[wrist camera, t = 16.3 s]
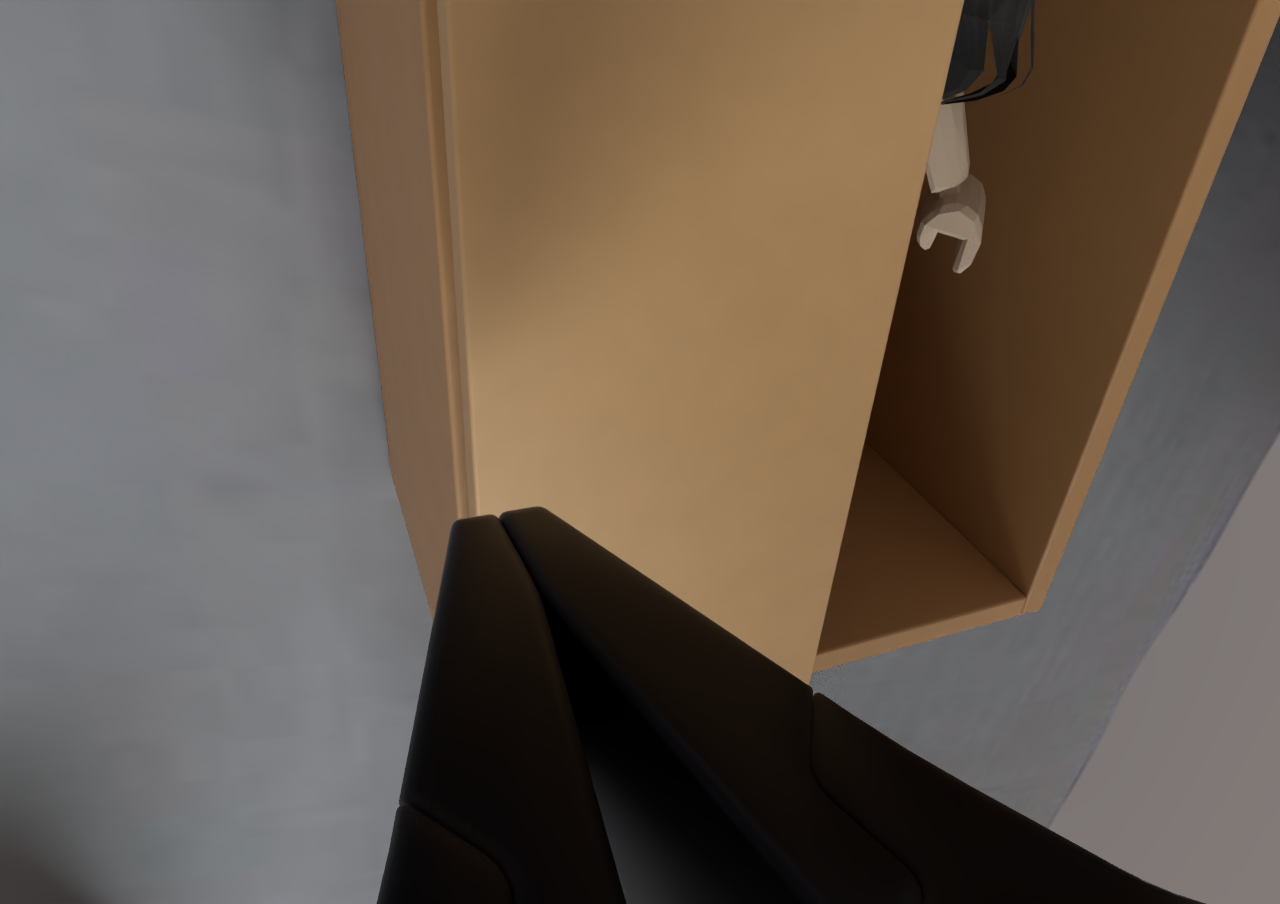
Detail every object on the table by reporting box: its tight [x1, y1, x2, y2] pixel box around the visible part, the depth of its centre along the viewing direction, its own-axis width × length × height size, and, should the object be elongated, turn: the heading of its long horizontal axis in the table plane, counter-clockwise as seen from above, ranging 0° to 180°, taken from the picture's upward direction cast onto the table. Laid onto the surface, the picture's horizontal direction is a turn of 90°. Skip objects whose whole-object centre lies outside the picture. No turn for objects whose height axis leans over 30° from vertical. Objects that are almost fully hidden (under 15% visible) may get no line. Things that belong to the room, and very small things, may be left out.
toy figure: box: [917, 0, 1035, 274], centre depth 13 cm, size 7×6×15 cm
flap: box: [437, 0, 964, 685], centre depth 10 cm, size 18×5×1 cm, turn 177°
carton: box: [335, 0, 1280, 673], centre depth 14 cm, size 18×11×8 cm, turn 177°
